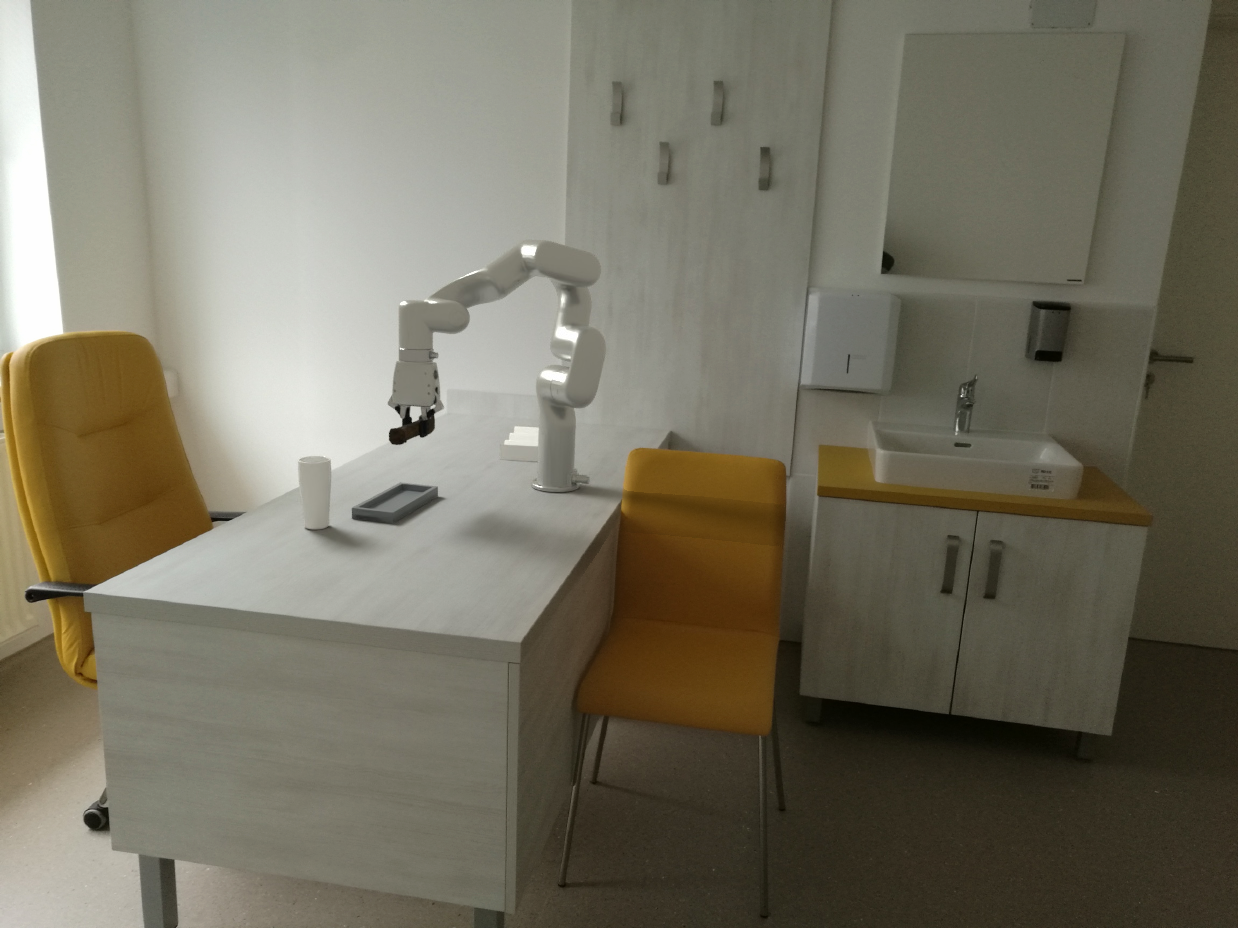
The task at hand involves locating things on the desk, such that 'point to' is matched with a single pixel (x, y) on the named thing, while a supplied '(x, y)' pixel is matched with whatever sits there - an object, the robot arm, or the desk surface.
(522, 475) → the desk surface
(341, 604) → the desk surface
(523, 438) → the file organizer
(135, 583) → the desk surface
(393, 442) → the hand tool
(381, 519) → the tray
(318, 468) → the white tumbler
